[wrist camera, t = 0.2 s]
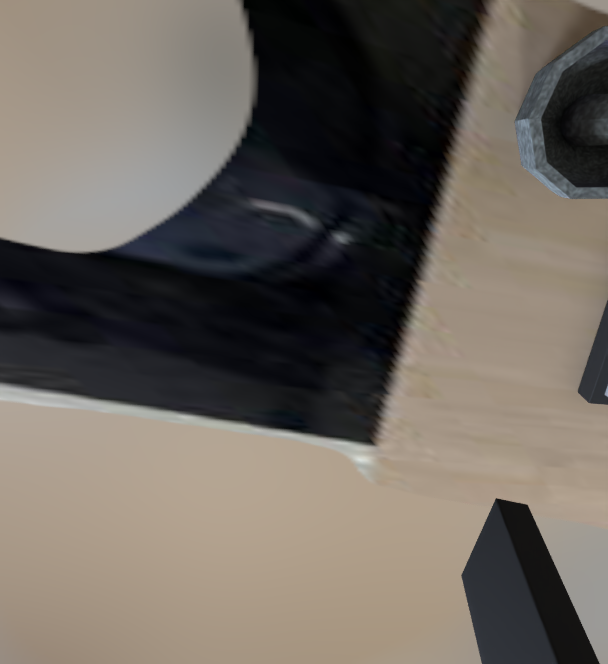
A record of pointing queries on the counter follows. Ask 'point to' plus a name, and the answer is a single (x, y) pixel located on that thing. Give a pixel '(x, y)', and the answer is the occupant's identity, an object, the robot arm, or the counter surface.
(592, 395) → the kitchen scale
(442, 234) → the counter surface
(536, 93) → the mortar and pestle
